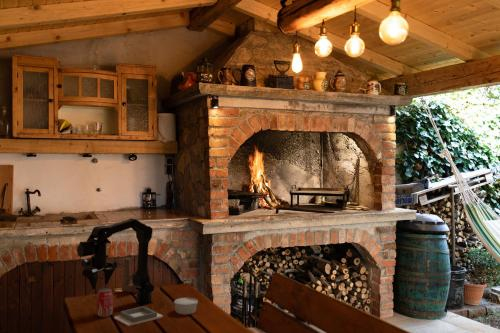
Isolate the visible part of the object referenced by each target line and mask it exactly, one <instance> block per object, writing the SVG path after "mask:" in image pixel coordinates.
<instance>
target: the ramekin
mask: <svg viewBox="0 0 500 333" xmlns="http://www.w3.org/2000/svg"><path fill="white" fill-rule="evenodd" d="M198 303H199V301H198V299H196V298H193V297H180V298H177V299H174V302H173V304H174V307H175V308H174V310H175V313H177V314H178V315H184V316H185V315H192V314H194V313H196V311H197V307H198Z"/></svg>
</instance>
